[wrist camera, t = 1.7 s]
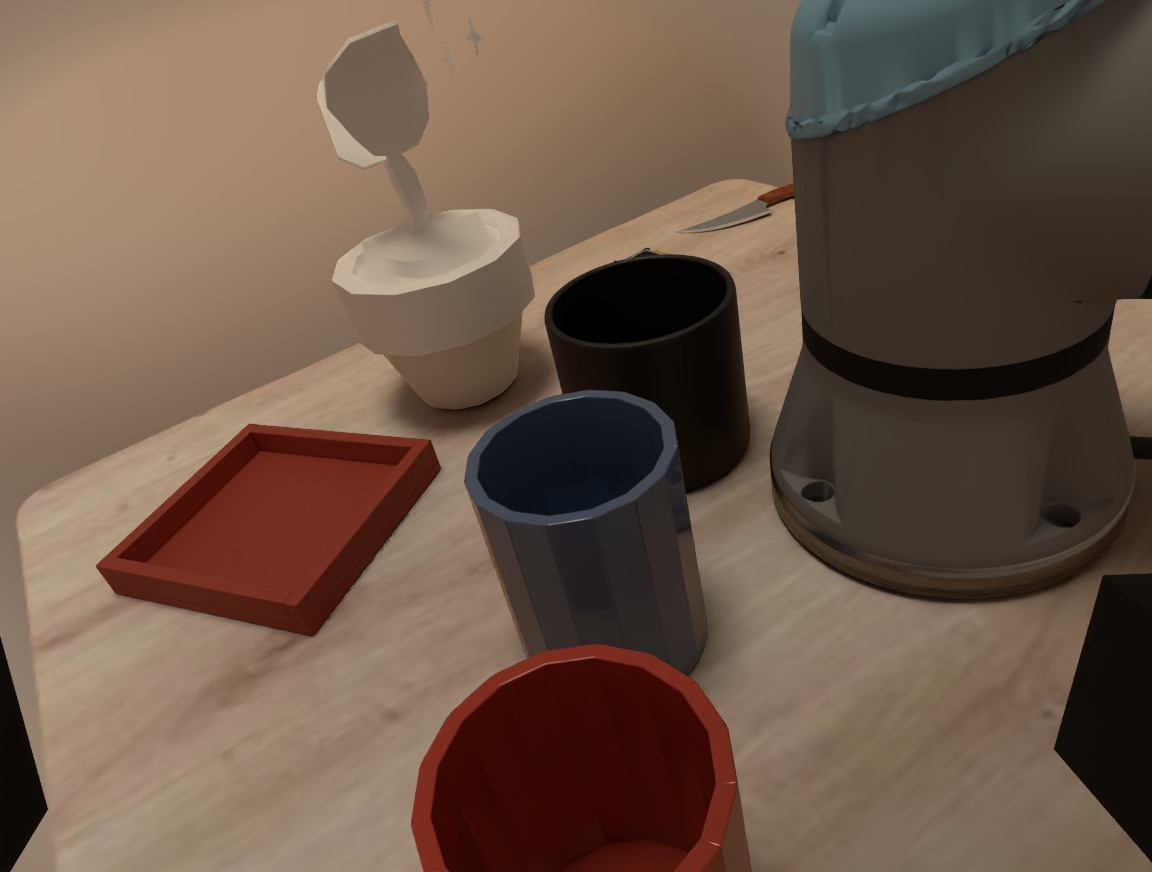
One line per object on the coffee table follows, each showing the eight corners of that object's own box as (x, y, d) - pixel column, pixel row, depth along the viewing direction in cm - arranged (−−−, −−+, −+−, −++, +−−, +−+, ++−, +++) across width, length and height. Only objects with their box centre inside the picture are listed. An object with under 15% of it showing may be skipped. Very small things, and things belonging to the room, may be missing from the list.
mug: (660, 360, 54) (638, 225, 49) (787, 443, 45) (777, 289, 40) (530, 423, 51) (491, 287, 46) (637, 526, 42) (604, 371, 37)
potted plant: (584, 393, 53) (477, -67, 38) (403, 462, 51) (219, 2, 36) (521, 316, 63) (418, -72, 48) (368, 371, 61) (213, -18, 46)
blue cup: (727, 580, 38) (701, 395, 32) (676, 728, 33) (635, 537, 27) (568, 557, 41) (519, 385, 36) (497, 689, 36) (426, 510, 30)
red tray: (441, 468, 49) (430, 439, 48) (313, 636, 40) (295, 606, 39) (262, 449, 55) (248, 423, 54) (114, 593, 46) (94, 565, 45)
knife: (692, 239, 67) (675, 227, 69) (693, 246, 67) (676, 234, 70) (838, 181, 69) (817, 172, 71) (839, 188, 69) (818, 178, 72)
